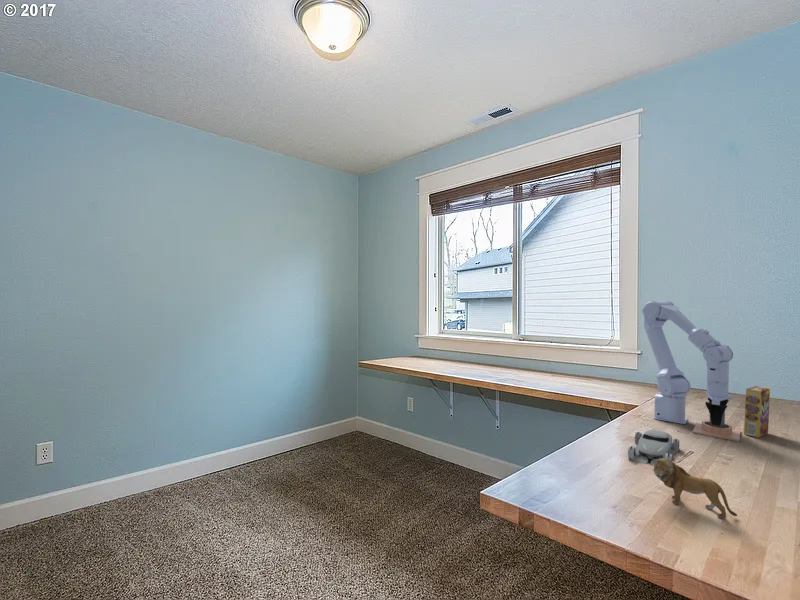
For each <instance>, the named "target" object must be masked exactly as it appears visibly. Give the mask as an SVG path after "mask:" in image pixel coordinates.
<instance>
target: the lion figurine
mask: <svg viewBox="0 0 800 600" xmlns="http://www.w3.org/2000/svg"><path fill="white" fill-rule="evenodd" d="M653 472H654V475H655V476H656V478H657V479H659V480H660V481H661V482H662V483H663V484H664V486H665V487H667V488H669V489H672V490H673V493H674V495H672V496H671V499H672V500H671V503H672V504H673V505H680V503H681V502H682V499H681V495H682V493H683V492H686V493H690V494H691V495H692V494H693V495H702V494H705V496H706V497H707V499H708V500H709V501H710V504H705V509H709V510H713V509H714V508H715V507H716V508H717V509H718V511H720V513H718V514H717V517H718V518H719V519H722V520H724V519H726V518H727V511H728V512H729V514H730V515H731V516H734V517H738V514H737V513H736V512H734V511H733V510H731V508H730V507H729V506H730V505H729V503H728V499H727V496H726V494H725V491H724V489H723V488H722V487H721V485H719V484H718V483H717V482H716V481H714V480H712V479H710V478H703V477H697V476H693V475H690V474H689V473H688V472H687V471H686V470H685V469H684V468H683V467H681V466H679V465H678V464H676V463H675V462H673V461H672V462H671V461H670V460H668V459H664V458H660V459H657V460H655V464H654V466H653ZM719 494H720V495H721V497H722V498H721V499H722V500H723V503H724V505H723V504H722V502H721V501H720V499H719V498H720V497H719Z"/></svg>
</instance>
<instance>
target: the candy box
mask: <svg viewBox="0 0 800 600" xmlns="http://www.w3.org/2000/svg"><path fill="white" fill-rule="evenodd" d="M770 401H771V388H770V387H765V386H757V385H754V386H752V387H749V388H746V389H745V405H744V406H745V407H744V421H743V422H744V425H743V435H746V436H748V437H749V436H750V437H753V438H757V439H758V438H760V437H762V436H764V435H768V433H769V420H770Z"/></svg>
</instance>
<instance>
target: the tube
mask: <svg viewBox="0 0 800 600" xmlns="http://www.w3.org/2000/svg"><path fill="white" fill-rule="evenodd" d="M709 421H710V426H713V427H719V428H725V424H726V410H725V411H724V413H723V416H722V421H721V424H720V426H718V425H712V423H711V418H710V417H709Z"/></svg>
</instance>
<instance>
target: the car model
mask: <svg viewBox="0 0 800 600" xmlns="http://www.w3.org/2000/svg"><path fill="white" fill-rule="evenodd" d="M634 443H635V445H636V446H633V445H630V446H629V445H628V449H627V458H628V460H631V461H635V462H637V463H640V464H644V465H646V464H650V465H651V466H653V467H654V464H655V460H657V459H660V458H664V459H668V460H670V461H671V462H673V459H674V458H673V456H674V455H675V454H677V453H679V452H680V439H678V438H673V436H672V435H671V434H670V433H667V432H665V431H662V430H658V429H655V430H654V429H651V430H646V431H644V432H643V433H642V432H640V431H636V432H635V435H634Z"/></svg>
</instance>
